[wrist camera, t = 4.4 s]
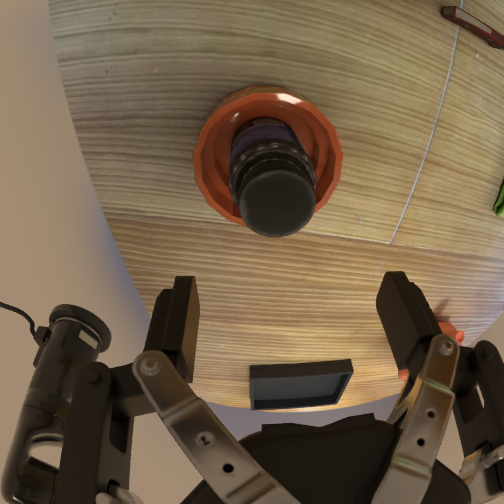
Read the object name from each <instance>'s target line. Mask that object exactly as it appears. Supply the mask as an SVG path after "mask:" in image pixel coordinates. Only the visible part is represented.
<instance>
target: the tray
mask: <svg viewBox="0 0 504 504" xmlns="http://www.w3.org/2000/svg"><path fill="white" fill-rule="evenodd" d="M353 372H354V370H353V366H352V362H351V359H348V360H338V361H328V362H315V363H301V364H284V365H259V366H250V402H251V410H274V409H291V408H304V407H315V406H325V405H334V404H337V403H338V401H339V399H340V397H341V396H342V394H343V392H344V390H345V388H346V386H347V384H348V382H349V380H350V378H351V376H352V374H353Z"/></svg>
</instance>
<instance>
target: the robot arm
mask: <svg viewBox="0 0 504 504" xmlns="http://www.w3.org/2000/svg"><path fill="white" fill-rule="evenodd" d="M0 307H3V308H5V309H8V310H11V311H14V312H16V313H18V314H20V315H22V316H24V317H25V318H26V319H27V320H28V322H29V323H30V331H31V333H32V335H33V336H34V337H33V338H34V340H35V341H36V343H37V344H38V345H39V350H38V352H37V354H36V357H35V359H34V362H33V365H34V367H35V368H36V369H35V372H34V374H33V377H32V380H31V382H30V385H29V388H28V391H27V394H26V396H25V400H24V402H23V405H22V409H21V412H20V415H19V419H18V423H17V427H16V430H15V433H14V437H13V440H12V443H11V446H10V449H9V452H8V455H7V459H6V462H5V466H4V469H3V473H2V478H1V495H2V497H3V499H4V500H5V501H6V502H7V503H8V504H143V502H142V500H141V499H140V498H139V497H138V496H137V495H136V494H134V493H132V492H130V491H129V475H130V460H131V446H132V435H133V425H134V416H139V415H144V414H148V413H153V412H157V413H158V415H159V417H160V418H161V420H162V422H163V423H164V425H165V426H166V428H167V429H168V430H169V432H170V433H171V435H172V436H173V438H174V439H175V441H176V442H177V443H178V445H179V446H180V447H181V449H182V450H183V452H184V453H185V454H186V456H187V457H188V459H189V460H190V461H191V463H192V464H193V465H194V466H195V468H196V469H197V470H198V472H199V473H200V474H201V475H202V477H203V478H204V479H203V480H202V481H201V482H200V483H199V484H198V485H197V486H196V487H195V488H194V490H193V491H192V492H191V493H190V494H189V495H188V496H187V497H186V498H185V499H184V500H183V501H182V502H181V503H180V504H483V503H486V502H488V501H491V500H494V499H496V498H499V497H501V496H504V363H503V361H502V359H501V356H500V354H499V352H498V350H497V348H496V347H495V346H494V345H493V344H492V343H491V342H489V341H486V340H483V341H479V342H478V343H477V344H476V345H475V347H474V348H470V347H464V346H459V345H458V343H457V342H456V340H455V339H454V338H452V337H451V336H449V335H446V334H443V332H442V330H441V328H440V326H439V324H438V322H437V320H436V318H435V316H434V314H433V312H432V310H431V308H430V306H429V304H428V302H427V301H426V298H425V296H424V294H423V293H422V291H421V289H420V288H419V287H417V286H416V285H415V284H414V283H413V282H409V280H408V278H407V276H406V275H405V273H404V272H403V271H392V272H386V273H385V275H384V278H383V281H382V283H381V286H380V289H379V292H378V295H377V298H376V308H377V312H378V314H379V317H380V320H381V322H382V325H383V328H384V330H385V333H386V336H387V338H388V341H389V344H390V347H391V350H392V353H393V355H394V358H395V361H396V364H397V367H398V370H404V369H408V371H409V374H408V376H407V378H406V380H405V383H404V385H403V388H402V390H401V393H400V395H399V397H398V400H397V402H396V405H395V407H394V409H393V411H392V413H391V414H390V416H389V417H388V419H387V421H386V422H385V421H382V420H376V419H375V417H374V413H369V414H363V415H357V416H350V417H347V418H344V419H342V420H339V421H336V422H334V423H331V424H329V425H326V426H323V427H315V426H308V425H301V424H295V423H282V424H262V430H261V431H259V432H255V433H253V434H250V435H248V436H246V437H244V438H242V439H241V440H239V441H237V440H236V439H235V438H234V437H233V435H232V434H231V433H230V432H229V431H228V430H227V428H226V427H225V426H224V425H223V424H222V422H221V421H220V420H219V419H218V418H217V417H216V415H215V414H214V413H213V412H212V410H211V409H210V408H209V407H208V405H207V404H206V403H205V402H204V401H203V400H202V399H201V398H200V397H197V396H196V394H195V393H194V392H193V391H192V389H191V388H190V387H189V385H188V384H187V383H192V381H193V371H194V361H195V352H196V343H197V334H198V325H199V317H200V304H199V297H198V292H197V286H196V280H195V276H176V278H175V282H174V286H173V289H163V291H162V292H161V293H160V294H159V296H158V297H157V299H156V302H155V306H154V310H153V314H152V319H151V322H150V326H149V330H148V334H147V339H146V343H145V347H144V350H143V352H142V353H141V354H140V355H138V356H137V357H136V359H135V360H134V362H132V363H130V364H127V365H124V366H119V367H114V368H108V367H107V366H106V365H105V364H104V363H101V362H96V361H97V358H98V355H99V352H100V349H101V347H102V344H103V339H102V337H101V335H100V333H99V332H98V331H97V330H96V329H95V328H94V327H93V326H92V325H90V324H89V323H87V322H85V321H84V320H81V319H79V318H76V317H73V316H60V317H58V318H57V319H56V320H52V321H51V323H50V325H49V327H43V326H39V327H38V329H37V331H36V332H35V331H34V326H35V325H34V321H33V320H32V319H31V318H30V316H29V315H27V314H26V313H25V312H24V311H22V310H20V309H18V308H16V307H13V306H10V305H7V304H4V303H2V302H0ZM478 385H479V387H480V390H481V393H482V396H483V399H484V408H483V406H482V403H481V400H480V397H479V394H478V391H477V388H476V387H477V386H478ZM452 409H453V413H454V416H455V420H456V424H457V428H458V432H459V436H460V440H461V445H462V449H463V453H464V458H465V459H464V461H463V463H462V468H461V469H460V471H459V476H458V475H456V474H455V473H454V472H453V471H451V470H450V469H449V468H448V467H446V466H445V465H444V464H442V463H441V462H440V461H439V460H437V459H436V456H437V454H438V451H439V448H440V445H441V442H442V440H443V437H444V434H445V430H446V427H447V424H448V421H449V418H450V414H451V411H452ZM42 446H52V447H60V448H62V453H61V459H60V466H59V468H58V467H56V466H53V465H51V464H49V463H47V462H44V461H42V460H40V459H38V458H35V457H33V456H31V450H32V449H34V448H36V447H42Z"/></svg>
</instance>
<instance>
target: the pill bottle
mask: <svg viewBox="0 0 504 504" xmlns="http://www.w3.org/2000/svg"><path fill="white" fill-rule="evenodd" d="M316 184H317V176H316V172H315V168H314V165H313V163H312V161H311V159H310V158H309V156H308V154H307V153H306V151H305V149H304V147H303V146H302V144H301V142H300V141H299V139H298V137H297V136H296V134H295V132H294V131H293V130H292V129H291V128H290V126H288V125H287V124H286V123H285V122H283V121H281V120H279V119H276V118H271V117H261V118H254V119H252V120H250V121H248V122H246V123H245V124H244V125H242V126H241V127H240V128H239V129H238V130H237V132H236V133H235V135H234V137H233V139H232V143H231V152H230V164H229V177H228V187H229V191H230V194H231V198H232V199H233V202H234V203H235V204H236V206H237V207H238V208H239V212H240V215H241V218H242V220H243V221H244V223H245V224H246V225H247V226H248V227H249V228H250V229H251V230H252V231H254V232H256V233H258V234H260V235H263V236H267V237H283V236H288V235H291V234H293V233H295V232H298V231H299V230H300V229H302V228H303V227H304V226H305V225H306V224H307V223H308V222H309V220H310V219H311V217H312V215H313V213H314V210H315V205H316V197H315V189H316Z"/></svg>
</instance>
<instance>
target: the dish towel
mask: <svg viewBox="0 0 504 504" xmlns="http://www.w3.org/2000/svg"><path fill="white" fill-rule="evenodd" d="M494 212H495V214H496V215H497V216H499V217H504V185H503V187H502V190H501V192H500V195H499V198H498V200H497V202H496V204H495V206H494Z"/></svg>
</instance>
